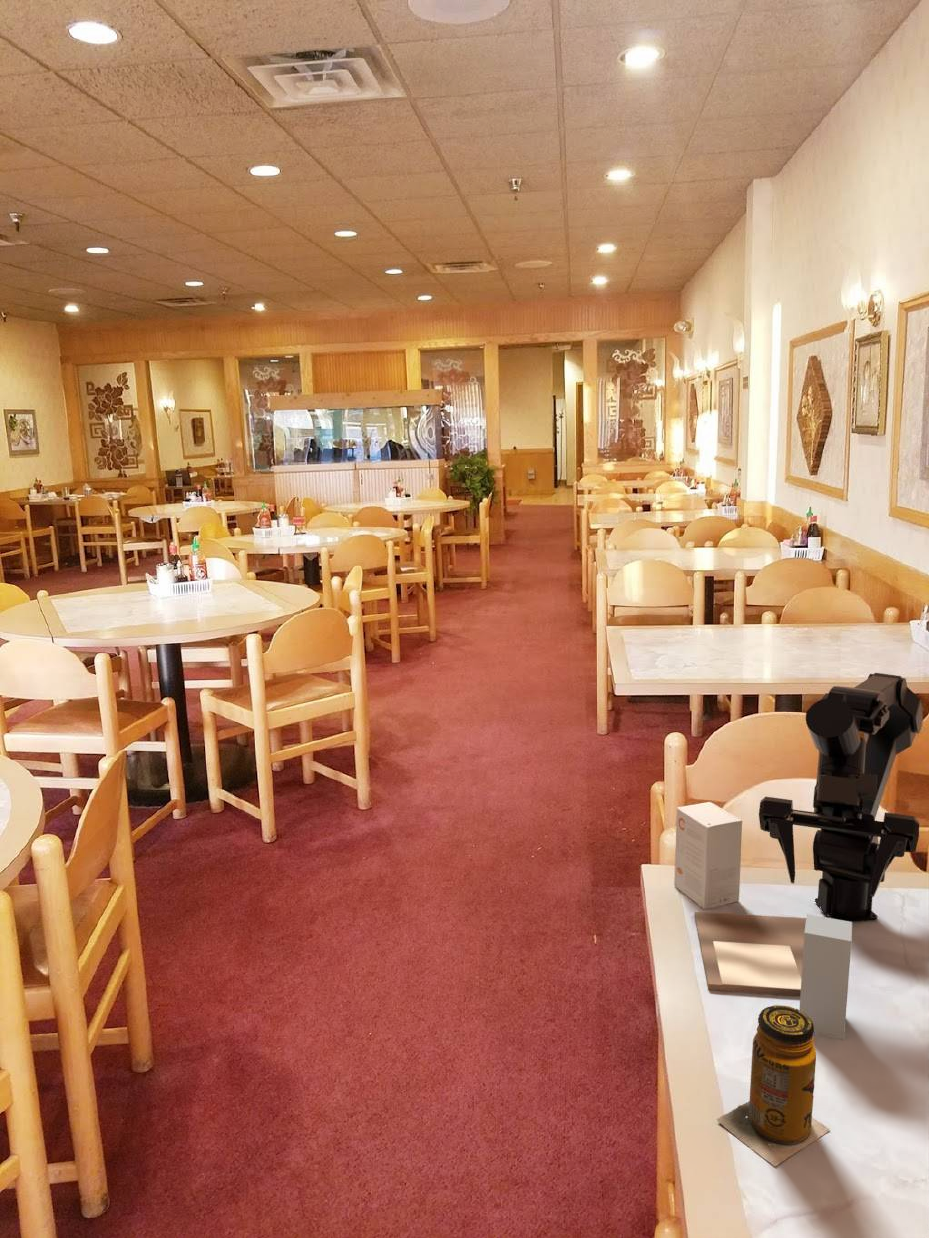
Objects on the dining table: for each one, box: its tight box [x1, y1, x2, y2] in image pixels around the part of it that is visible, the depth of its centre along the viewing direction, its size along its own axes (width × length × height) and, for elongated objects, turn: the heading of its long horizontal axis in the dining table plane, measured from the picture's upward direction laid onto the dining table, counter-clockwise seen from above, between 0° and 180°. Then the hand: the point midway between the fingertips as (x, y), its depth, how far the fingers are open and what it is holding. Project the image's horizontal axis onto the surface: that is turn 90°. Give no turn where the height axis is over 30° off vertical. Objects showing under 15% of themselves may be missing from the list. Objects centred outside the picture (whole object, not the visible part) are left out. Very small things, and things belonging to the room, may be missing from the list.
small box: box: [673, 801, 743, 910], centre depth 140 cm, size 8×6×13 cm
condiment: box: [716, 1004, 831, 1167], centre depth 93 cm, size 7×8×12 cm
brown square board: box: [694, 911, 806, 997], centre depth 125 cm, size 18×16×1 cm
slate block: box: [799, 913, 853, 1040], centre depth 109 cm, size 4×5×12 cm
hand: (831, 888), depth 115 cm, fingers open, 9 cm apart
